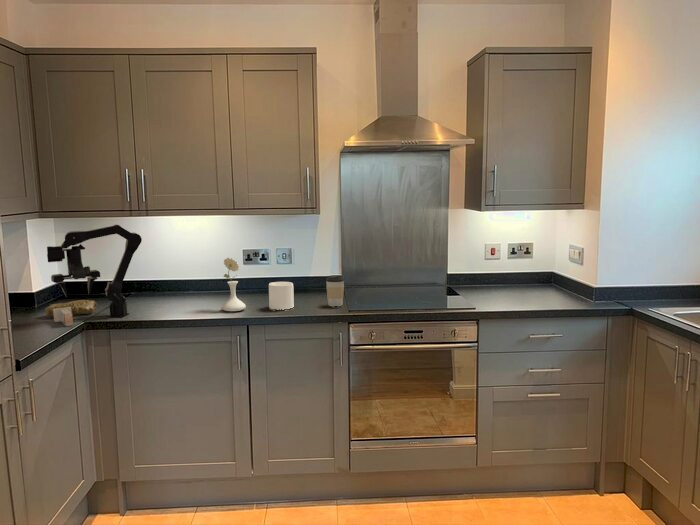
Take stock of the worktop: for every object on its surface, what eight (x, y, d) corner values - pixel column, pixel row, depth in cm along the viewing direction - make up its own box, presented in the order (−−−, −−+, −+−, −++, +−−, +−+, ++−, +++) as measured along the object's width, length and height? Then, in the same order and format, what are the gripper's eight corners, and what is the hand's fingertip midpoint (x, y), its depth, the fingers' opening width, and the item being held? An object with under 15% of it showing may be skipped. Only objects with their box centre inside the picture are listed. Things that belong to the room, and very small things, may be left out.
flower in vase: (250, 310, 261) (248, 258, 257) (228, 314, 253) (226, 260, 250) (236, 306, 271) (234, 255, 267) (215, 309, 263) (213, 257, 260)
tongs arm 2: (73, 325, 234) (72, 313, 233) (69, 325, 233) (68, 314, 233) (67, 319, 244) (66, 308, 243) (63, 320, 243) (63, 309, 242)
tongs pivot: (72, 319, 245) (71, 307, 245) (55, 322, 241) (54, 309, 240) (71, 318, 247) (70, 306, 246) (54, 320, 243) (53, 309, 242)
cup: (289, 311, 259) (288, 286, 257) (265, 310, 261) (265, 285, 260) (296, 305, 270) (296, 281, 269) (274, 305, 273) (273, 281, 271)
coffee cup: (323, 304, 272) (322, 274, 270) (339, 303, 276) (339, 273, 274) (331, 308, 264) (330, 277, 262) (347, 306, 268) (347, 276, 266)
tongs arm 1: (69, 325, 233) (68, 314, 233) (65, 326, 232) (64, 314, 232) (63, 320, 243) (63, 309, 242) (60, 320, 242) (59, 309, 241)
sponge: (96, 313, 263) (50, 307, 258) (98, 298, 261) (52, 292, 256) (90, 324, 251) (42, 318, 246) (92, 309, 249) (44, 302, 244)
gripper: (54, 264, 228) (58, 301, 231) (102, 259, 240) (105, 294, 242) (49, 262, 237) (53, 297, 239) (95, 257, 249) (98, 291, 251)
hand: (78, 295), depth 243 cm, fingers open, 9 cm apart
